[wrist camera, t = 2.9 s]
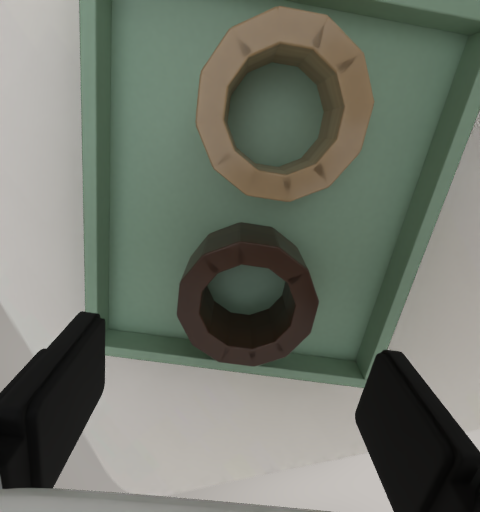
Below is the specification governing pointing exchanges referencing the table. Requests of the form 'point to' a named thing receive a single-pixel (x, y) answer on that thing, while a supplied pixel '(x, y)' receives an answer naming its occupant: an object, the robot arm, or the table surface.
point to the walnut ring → (242, 325)
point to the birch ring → (317, 69)
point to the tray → (273, 154)
